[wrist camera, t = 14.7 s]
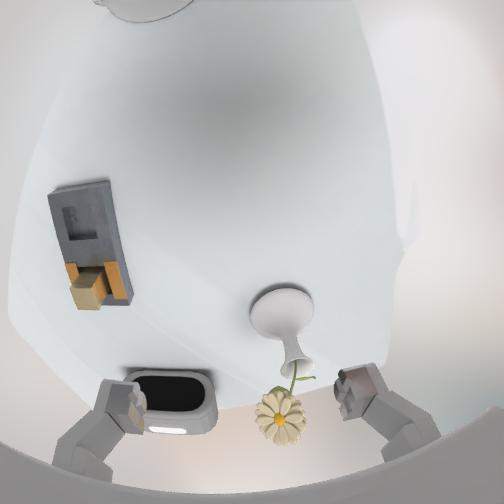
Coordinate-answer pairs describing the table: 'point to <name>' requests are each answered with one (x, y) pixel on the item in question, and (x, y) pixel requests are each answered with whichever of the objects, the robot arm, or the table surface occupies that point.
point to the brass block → (90, 288)
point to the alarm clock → (177, 401)
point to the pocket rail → (91, 236)
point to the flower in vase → (295, 366)
